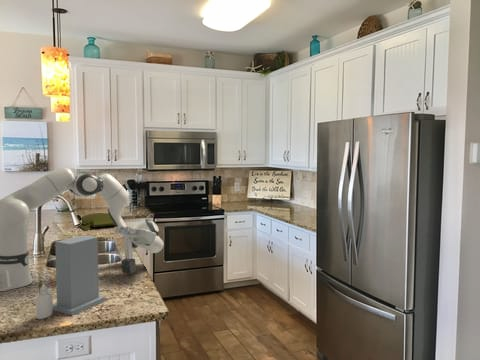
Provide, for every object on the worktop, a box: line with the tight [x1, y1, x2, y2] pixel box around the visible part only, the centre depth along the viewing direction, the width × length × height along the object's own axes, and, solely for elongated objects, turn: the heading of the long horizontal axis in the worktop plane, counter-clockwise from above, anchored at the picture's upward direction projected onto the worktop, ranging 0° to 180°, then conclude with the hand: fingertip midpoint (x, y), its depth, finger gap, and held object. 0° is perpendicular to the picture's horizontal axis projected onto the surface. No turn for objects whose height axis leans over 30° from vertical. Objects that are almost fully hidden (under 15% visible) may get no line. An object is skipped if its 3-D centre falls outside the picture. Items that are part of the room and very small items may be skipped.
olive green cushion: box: [79, 212, 115, 231], centre depth 313 cm, size 35×31×10 cm
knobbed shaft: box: [120, 225, 137, 275], centre depth 188 cm, size 22×5×4 cm
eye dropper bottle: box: [35, 283, 54, 320], centre depth 141 cm, size 4×6×12 cm
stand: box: [52, 235, 106, 316], centre depth 151 cm, size 16×12×26 cm
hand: (124, 228), depth 185 cm, fingers closed on knobbed shaft, 2 cm apart
